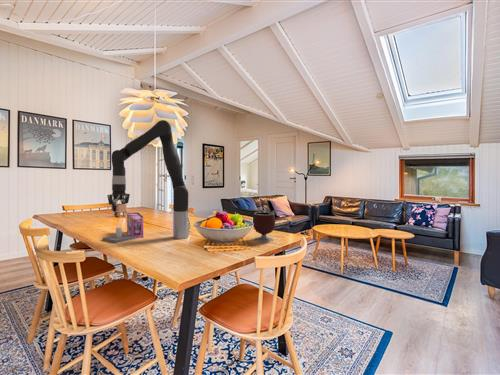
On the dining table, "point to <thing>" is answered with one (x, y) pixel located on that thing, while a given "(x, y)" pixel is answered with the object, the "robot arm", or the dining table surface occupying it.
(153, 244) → the dining table surface
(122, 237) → the board
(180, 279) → the dining table surface
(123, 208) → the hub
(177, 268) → the dining table surface
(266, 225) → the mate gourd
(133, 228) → the gum box
